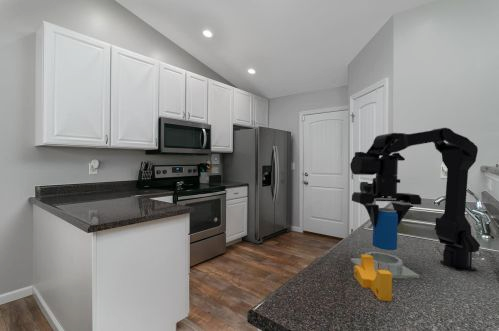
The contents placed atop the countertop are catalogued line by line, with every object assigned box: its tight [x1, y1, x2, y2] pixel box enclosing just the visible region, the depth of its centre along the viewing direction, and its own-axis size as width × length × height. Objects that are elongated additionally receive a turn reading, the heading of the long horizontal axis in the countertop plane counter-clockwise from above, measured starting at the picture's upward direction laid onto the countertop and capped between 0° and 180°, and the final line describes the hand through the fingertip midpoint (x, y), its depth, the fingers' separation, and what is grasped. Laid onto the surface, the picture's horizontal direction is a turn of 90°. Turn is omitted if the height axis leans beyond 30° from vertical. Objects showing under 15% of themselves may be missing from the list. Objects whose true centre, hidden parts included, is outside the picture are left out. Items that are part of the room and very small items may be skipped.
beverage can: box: [372, 207, 399, 253], centre depth 73 cm, size 6×6×12 cm
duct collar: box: [350, 251, 421, 279], centre depth 73 cm, size 14×12×3 cm
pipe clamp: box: [353, 253, 393, 302], centre depth 62 cm, size 12×4×6 cm, turn 176°
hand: (384, 226), depth 73 cm, fingers closed on beverage can, 6 cm apart
